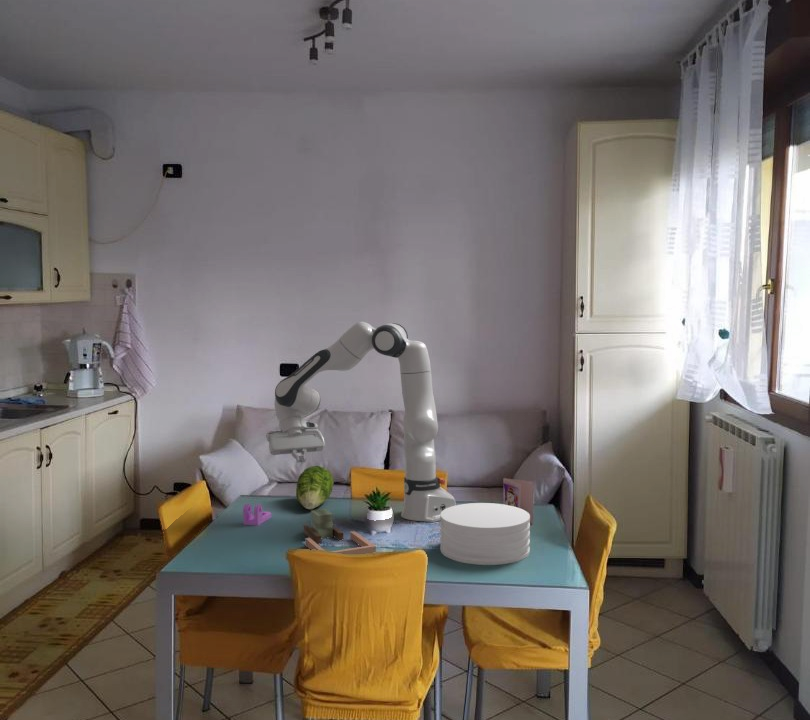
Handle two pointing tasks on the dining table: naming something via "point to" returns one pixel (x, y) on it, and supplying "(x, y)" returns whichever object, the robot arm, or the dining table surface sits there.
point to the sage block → (322, 522)
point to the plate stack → (485, 533)
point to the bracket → (257, 517)
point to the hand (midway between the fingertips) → (301, 461)
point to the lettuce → (314, 486)
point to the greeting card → (519, 495)
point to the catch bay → (365, 548)
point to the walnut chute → (317, 537)
